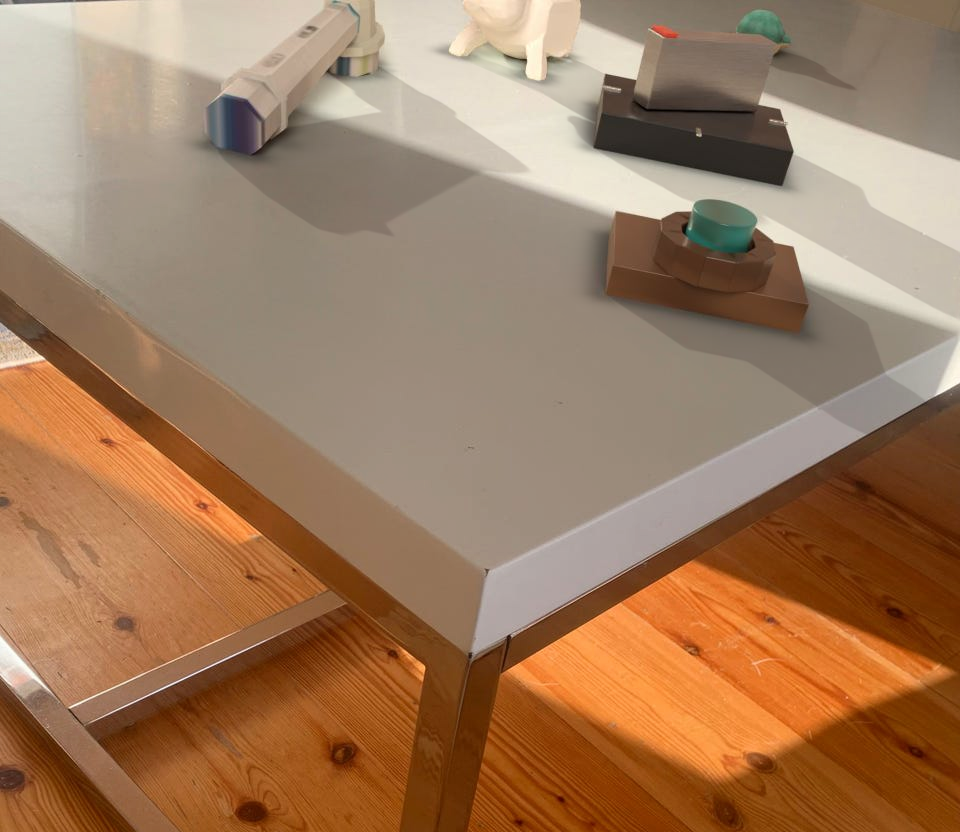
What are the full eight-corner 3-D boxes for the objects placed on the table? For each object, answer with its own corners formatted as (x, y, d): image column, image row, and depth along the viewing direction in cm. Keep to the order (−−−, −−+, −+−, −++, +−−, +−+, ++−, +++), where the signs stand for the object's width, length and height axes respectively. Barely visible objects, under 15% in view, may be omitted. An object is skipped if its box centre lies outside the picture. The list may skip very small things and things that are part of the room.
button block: (782, 279, 69) (803, 218, 67) (797, 345, 62) (822, 279, 60) (607, 244, 69) (622, 181, 67) (603, 306, 62) (620, 238, 60)
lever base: (766, 134, 92) (778, 95, 90) (783, 197, 81) (798, 154, 79) (596, 100, 92) (605, 60, 90) (590, 158, 81) (600, 114, 79)
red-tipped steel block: (740, 102, 87) (761, 30, 84) (756, 112, 86) (778, 40, 83) (631, 99, 83) (649, 24, 80) (646, 109, 82) (665, 33, 78)
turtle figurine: (720, 45, 113) (731, 5, 111) (745, 35, 118) (756, -4, 116) (774, 62, 111) (787, 21, 109) (797, 51, 116) (809, 12, 114)
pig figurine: (483, 75, 102) (418, 37, 89) (513, -23, 100) (450, -78, 86) (568, 102, 100) (514, 67, 86) (600, 2, 98) (551, -50, 84)
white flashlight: (190, 84, 68) (331, -47, 85) (196, 185, 72) (329, 42, 90) (272, 104, 67) (397, -31, 84) (273, 205, 72) (391, 57, 89)
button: (745, 236, 64) (755, 206, 63) (750, 261, 61) (760, 231, 60) (683, 223, 64) (692, 193, 63) (685, 248, 61) (694, 218, 60)
